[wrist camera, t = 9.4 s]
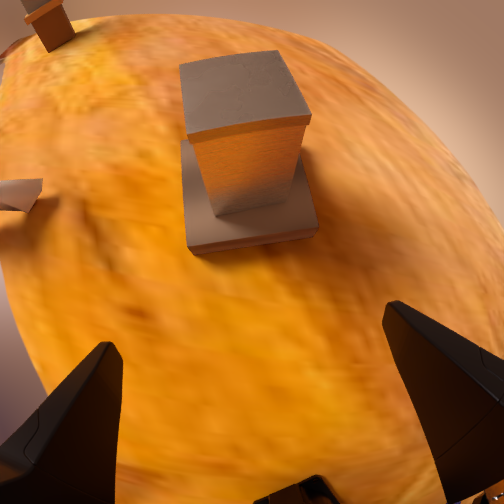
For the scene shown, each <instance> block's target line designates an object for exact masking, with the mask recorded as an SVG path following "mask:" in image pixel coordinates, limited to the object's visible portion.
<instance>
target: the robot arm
mask: <svg viewBox="0 0 504 504" xmlns="http://www.w3.org/2000/svg"><path fill="white" fill-rule="evenodd" d="M382 326H383V329H384V332H385V335H386V338H387V341H388V343H389V346H390V349H391V352H392V355H393V358H394V361H395V364H396V366H397V369H398V371H399V373H400V375H401V378H402V380H403V382H404V384H405V387H406V389H407V391H408V394H409V396H410V398H411V401H412V403H413V406H414V408H415V410H416V413H417V415H418V418H419V420H420V423H421V426H422V428H423V431H424V433H425V436H426V439H427V441H428V444H429V447H430V450H431V453H432V455H433V458H434V461H435V465H436V468H437V471H438V474H439V477H440V480H441V483H442V487H443V490H444V493H445V497H446V500H447V504H455V503H457V502H459V501H462V500H464V499H466V498H469V497H471V496H473V495H475V494H477V493H479V492H481V491H484V492H483V493H482V494H481V495H479V496H478V497H476V498H475V499H474V501H473V503H472V504H504V360H503V359H501V358H499V357H497V356H495V355H493V354H492V353H490V352H488V351H486V350H485V349H483V348H481V347H479V346H478V345H476V344H475V343H473V342H471V341H469V340H468V339H466V338H464V337H463V336H461V335H459V334H457V333H456V332H454V331H452V330H451V329H449V328H447V327H445V326H444V325H442V324H440V323H438V322H437V321H435V320H433V319H431V318H430V317H428V316H426V315H424V314H423V313H421V312H419V311H417V310H415V309H414V308H412V307H410V306H408V305H406V304H405V303H403V302H401V301H399V300H396V301H392V302H388V303H387V304H386V307H385V312H384V316H383V320H382ZM122 379H123V359H122V357H121V355H120V353H119V352H118V350H117V349H116V347H115V345H114V344H113V343H112V342H110V341H109V342H100V343H99V344H98V345H97V346H96V347H95V348H94V349H93V350H92V351H91V352H90V353H89V354H88V355H87V356H86V357H85V358H84V359H83V360H82V361H81V362H80V363H79V364H78V365H77V367H76V368H75V369H74V370H73V371H72V372H71V373H70V374H69V375H68V376H67V377H66V378H65V379H64V380H63V381H62V382H61V383H60V384H59V385H58V387H57V388H56V389H55V390H54V391H53V392H52V393H51V394H50V395H49V396H48V397H47V398H46V400H45V401H44V402H43V403H42V404H41V405H40V406H39V408H38V409H36V410H35V412H34V413H33V414H32V415H31V416H30V417H29V418H28V419H27V420H26V421H25V422H24V423H23V424H22V425H21V426H20V427H19V428H18V429H17V430H16V432H14V433H13V434H12V435H11V436H10V437H9V438H8V439H7V440H6V441H5V442H4V443H3V444H2V445H1V446H0V504H115V473H116V455H117V442H118V431H119V422H120V413H121V404H122ZM314 479H318V480H317V481H313V480H314ZM253 504H340V503H339V501H338V500H337V499H336V497H335V496H334V495H333V493H332V492H331V491H330V489H329V488H328V487H327V485H326V484H325V482H324V481H323V480H322V478H321V477H320V476H319V475H313V476H311V477H309V478H307V479H305V480H303V481H301V482H299V483H297V484H293V485H291V486H288V487H286V488H284V489H282V490H279V491H277V492H275V493H272V494H270V495H269V496H266V497H264V498H261V499H259V500H256V501H254V502H253Z"/></svg>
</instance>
